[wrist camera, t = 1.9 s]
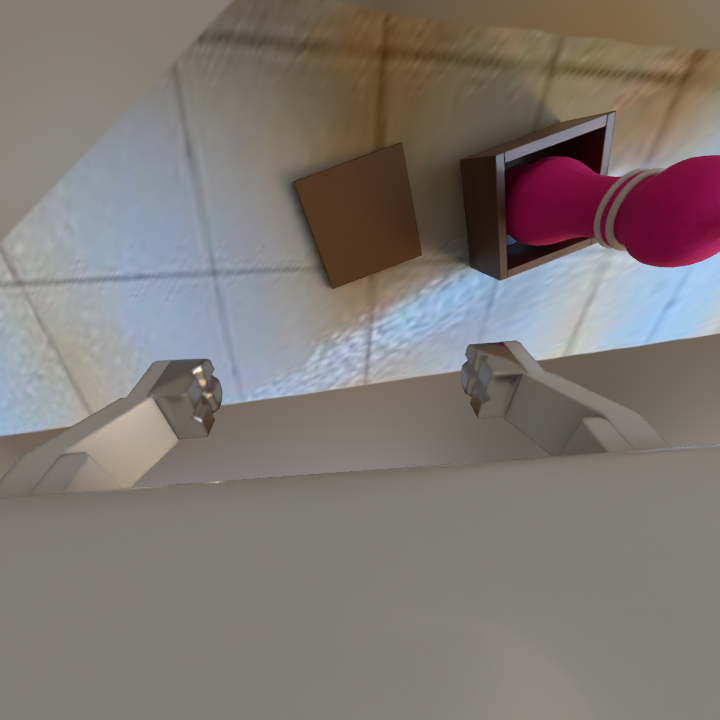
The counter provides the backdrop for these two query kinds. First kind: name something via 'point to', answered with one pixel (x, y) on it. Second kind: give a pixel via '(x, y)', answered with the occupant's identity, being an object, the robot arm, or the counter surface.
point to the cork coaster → (361, 215)
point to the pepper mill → (619, 208)
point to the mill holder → (487, 193)
